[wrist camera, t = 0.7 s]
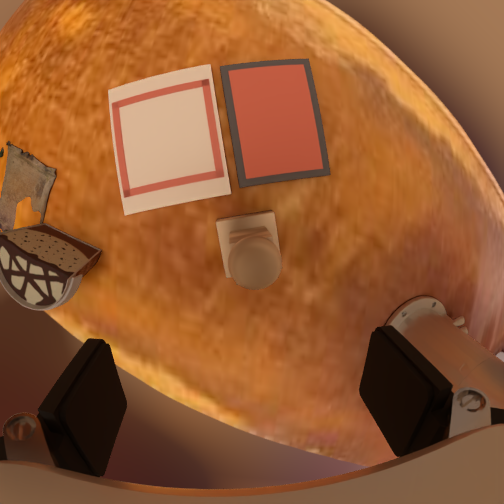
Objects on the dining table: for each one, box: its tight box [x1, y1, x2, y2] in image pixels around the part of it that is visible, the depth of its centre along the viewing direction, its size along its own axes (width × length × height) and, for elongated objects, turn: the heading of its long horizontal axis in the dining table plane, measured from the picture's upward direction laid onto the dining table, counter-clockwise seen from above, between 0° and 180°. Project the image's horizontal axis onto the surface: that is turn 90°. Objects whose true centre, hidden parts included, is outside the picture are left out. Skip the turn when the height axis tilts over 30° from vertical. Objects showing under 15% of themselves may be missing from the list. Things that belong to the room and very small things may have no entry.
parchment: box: [0, 141, 56, 232], centre depth 29 cm, size 12×13×1 cm
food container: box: [0, 223, 102, 310], centre depth 27 cm, size 12×6×10 cm, turn 67°
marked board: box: [108, 64, 231, 215], centre depth 29 cm, size 12×15×1 cm
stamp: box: [216, 210, 282, 290], centre depth 27 cm, size 6×6×11 cm
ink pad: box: [220, 59, 330, 188], centre depth 29 cm, size 10×14×1 cm
